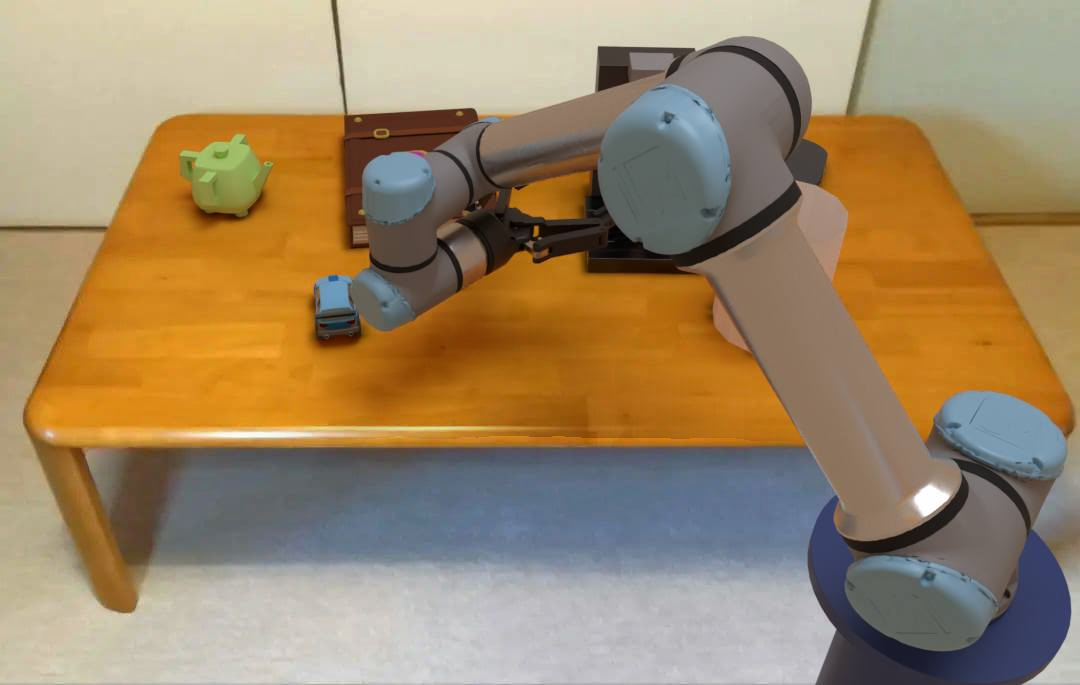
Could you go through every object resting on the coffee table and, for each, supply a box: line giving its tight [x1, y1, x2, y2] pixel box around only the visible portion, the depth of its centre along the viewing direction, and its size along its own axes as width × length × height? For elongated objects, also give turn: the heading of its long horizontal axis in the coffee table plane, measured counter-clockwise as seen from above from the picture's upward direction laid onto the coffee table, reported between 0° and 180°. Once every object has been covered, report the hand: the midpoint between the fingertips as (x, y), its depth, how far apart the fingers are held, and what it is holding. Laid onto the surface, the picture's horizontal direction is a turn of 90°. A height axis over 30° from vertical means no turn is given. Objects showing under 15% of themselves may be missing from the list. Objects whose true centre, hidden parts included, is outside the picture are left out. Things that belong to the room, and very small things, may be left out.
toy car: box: [313, 274, 362, 341], centre depth 135 cm, size 6×12×6 cm, turn 11°
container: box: [712, 180, 850, 353], centre depth 132 cm, size 14×14×18 cm
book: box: [342, 107, 498, 248], centre depth 160 cm, size 23×32×5 cm
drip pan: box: [583, 194, 697, 275], centre depth 151 cm, size 16×16×2 cm
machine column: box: [588, 45, 697, 196], centre depth 149 cm, size 11×14×26 cm
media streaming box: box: [785, 138, 829, 187], centre depth 166 cm, size 15×15×3 cm
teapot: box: [178, 133, 275, 218], centre depth 154 cm, size 12×12×10 cm
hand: (588, 181), depth 133 cm, fingers open, 13 cm apart
